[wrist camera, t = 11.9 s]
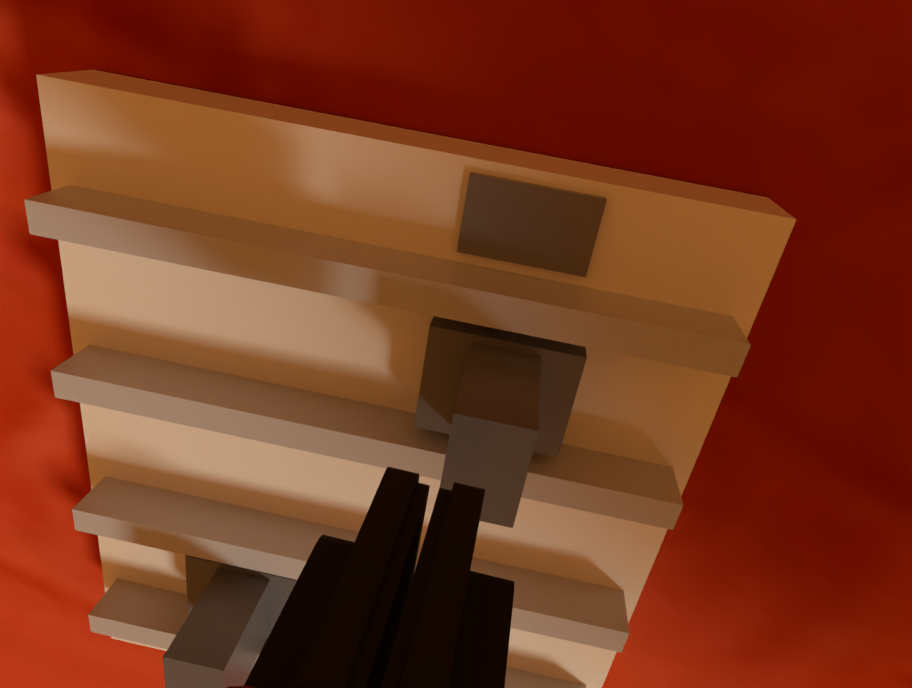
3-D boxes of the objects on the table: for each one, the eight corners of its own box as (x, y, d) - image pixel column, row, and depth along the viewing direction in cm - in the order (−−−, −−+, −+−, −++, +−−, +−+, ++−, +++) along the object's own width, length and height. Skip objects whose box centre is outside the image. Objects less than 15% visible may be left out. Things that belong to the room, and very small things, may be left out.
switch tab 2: (584, 336, 15) (595, 433, 12) (557, 432, 16) (559, 545, 13) (437, 306, 15) (401, 393, 12) (421, 403, 17) (386, 508, 13)
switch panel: (767, 197, 15) (823, 240, 12) (575, 693, 24) (579, 792, 21) (92, 69, 16) (-17, 79, 13) (142, 594, 25) (83, 675, 22)
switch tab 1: (315, 554, 20) (261, 674, 16) (310, 616, 21) (259, 740, 17) (203, 529, 20) (124, 643, 16) (205, 592, 21) (132, 710, 17)
